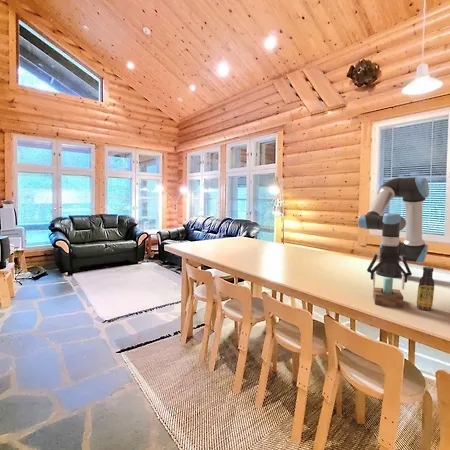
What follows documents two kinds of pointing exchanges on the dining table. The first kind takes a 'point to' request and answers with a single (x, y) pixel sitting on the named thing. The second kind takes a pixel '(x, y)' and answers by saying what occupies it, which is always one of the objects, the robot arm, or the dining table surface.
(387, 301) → the socket block
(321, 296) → the dining table surface
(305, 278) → the dining table surface
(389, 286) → the dowel
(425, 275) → the sauce bottle
